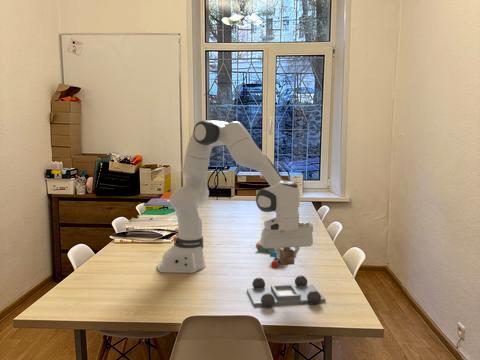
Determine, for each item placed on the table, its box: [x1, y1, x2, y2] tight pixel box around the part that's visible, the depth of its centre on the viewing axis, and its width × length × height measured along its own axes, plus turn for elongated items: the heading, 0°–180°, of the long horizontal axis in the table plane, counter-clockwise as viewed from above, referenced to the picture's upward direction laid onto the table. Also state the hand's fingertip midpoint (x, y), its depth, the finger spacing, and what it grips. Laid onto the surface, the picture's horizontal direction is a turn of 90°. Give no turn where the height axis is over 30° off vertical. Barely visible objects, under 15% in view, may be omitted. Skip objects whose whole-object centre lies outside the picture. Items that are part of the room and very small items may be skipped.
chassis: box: [246, 275, 326, 308], centre depth 167 cm, size 28×17×5 cm, turn 100°
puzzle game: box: [255, 238, 276, 253], centre depth 232 cm, size 12×5×20 cm
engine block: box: [278, 247, 296, 266], centre depth 165 cm, size 4×6×6 cm
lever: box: [269, 252, 279, 268], centre depth 208 cm, size 7×7×18 cm
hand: (286, 257), depth 165 cm, fingers closed on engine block, 4 cm apart
